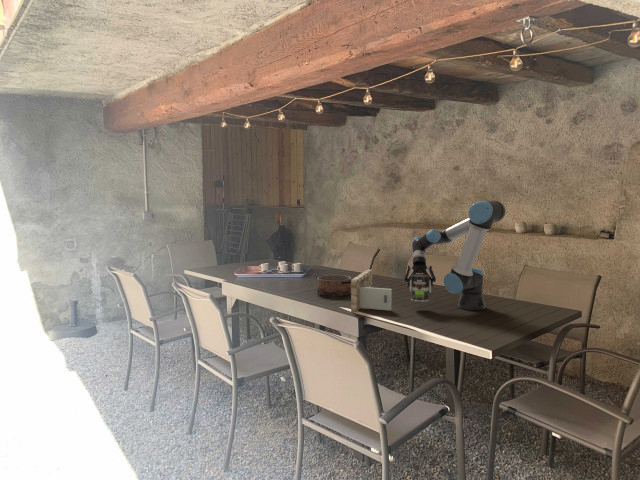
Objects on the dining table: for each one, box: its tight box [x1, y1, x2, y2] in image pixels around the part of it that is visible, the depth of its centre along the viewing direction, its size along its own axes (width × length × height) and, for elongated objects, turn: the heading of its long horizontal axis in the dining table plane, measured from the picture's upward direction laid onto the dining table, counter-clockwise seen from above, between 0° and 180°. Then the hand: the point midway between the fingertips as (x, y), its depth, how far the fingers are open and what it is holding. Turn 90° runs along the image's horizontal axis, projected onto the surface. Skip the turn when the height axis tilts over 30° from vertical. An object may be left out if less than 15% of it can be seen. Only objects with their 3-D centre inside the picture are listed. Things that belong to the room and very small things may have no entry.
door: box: [359, 286, 393, 311], centre depth 262 cm, size 20×3×12 cm, turn 71°
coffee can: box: [410, 273, 431, 303], centre depth 261 cm, size 10×10×14 cm
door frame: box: [350, 269, 373, 313], centre depth 275 cm, size 38×3×18 cm, turn 161°
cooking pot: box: [315, 274, 352, 298], centre depth 306 cm, size 30×22×11 cm
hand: (420, 291), depth 258 cm, fingers closed on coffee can, 10 cm apart
